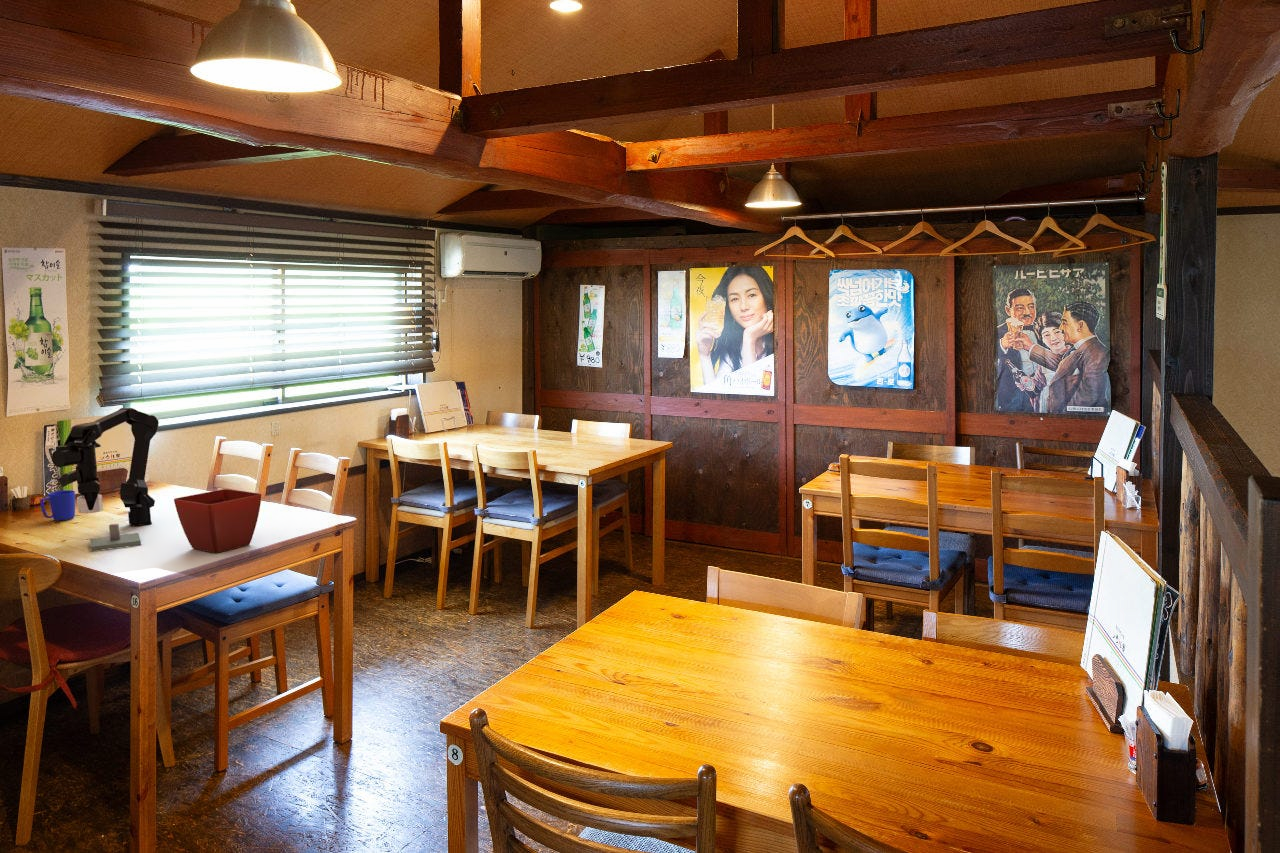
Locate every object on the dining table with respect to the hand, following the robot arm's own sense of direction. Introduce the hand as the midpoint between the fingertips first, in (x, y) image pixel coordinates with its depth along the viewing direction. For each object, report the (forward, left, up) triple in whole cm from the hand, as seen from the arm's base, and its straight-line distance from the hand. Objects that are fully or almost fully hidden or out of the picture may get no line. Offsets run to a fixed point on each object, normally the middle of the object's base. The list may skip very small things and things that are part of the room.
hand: (90, 508), depth 306 cm
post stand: (-6, +14, -10) cm, 18 cm away
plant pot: (-35, +37, -10) cm, 52 cm away
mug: (+10, -36, -10) cm, 39 cm away
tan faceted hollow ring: (0, 0, -1) cm, 1 cm away
